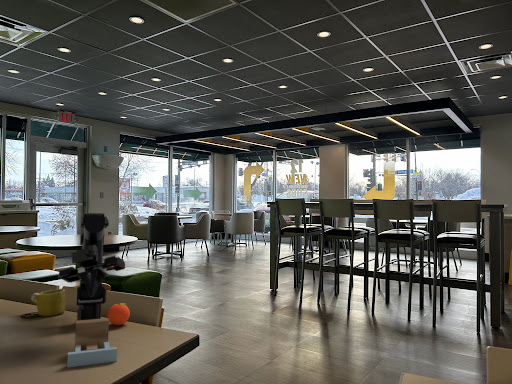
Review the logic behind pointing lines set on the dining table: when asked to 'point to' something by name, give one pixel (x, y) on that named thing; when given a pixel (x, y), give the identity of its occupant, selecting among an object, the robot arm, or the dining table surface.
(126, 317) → the clementine
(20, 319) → the dining table surface
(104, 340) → the brown upright blocky piece
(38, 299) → the mug
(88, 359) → the slot bracket
